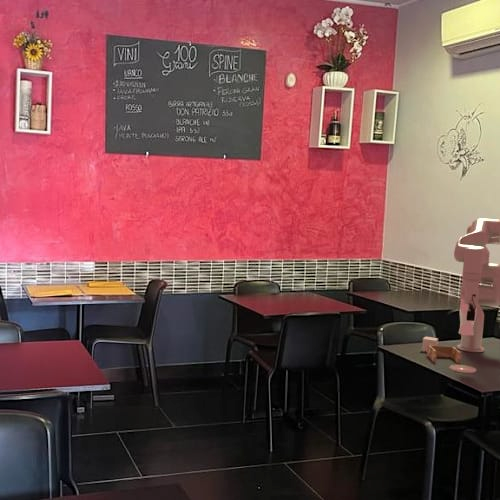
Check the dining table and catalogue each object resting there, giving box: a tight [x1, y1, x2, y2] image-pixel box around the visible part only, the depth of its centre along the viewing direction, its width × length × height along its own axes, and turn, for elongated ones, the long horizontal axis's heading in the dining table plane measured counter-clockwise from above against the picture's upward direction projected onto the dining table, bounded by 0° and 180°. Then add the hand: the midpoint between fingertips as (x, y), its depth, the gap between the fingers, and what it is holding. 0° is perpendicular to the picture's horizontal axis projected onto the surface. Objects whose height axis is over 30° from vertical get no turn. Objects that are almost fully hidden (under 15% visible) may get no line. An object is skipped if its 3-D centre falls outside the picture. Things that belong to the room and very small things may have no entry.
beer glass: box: [458, 298, 477, 336], centre depth 290 cm, size 7×7×15 cm
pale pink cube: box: [421, 336, 439, 353], centre depth 322 cm, size 6×6×6 cm
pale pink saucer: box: [448, 364, 477, 374], centre depth 292 cm, size 11×11×1 cm
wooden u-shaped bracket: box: [426, 345, 462, 365], centre depth 307 cm, size 12×12×5 cm
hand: (467, 318), depth 290 cm, fingers closed on beer glass, 6 cm apart
